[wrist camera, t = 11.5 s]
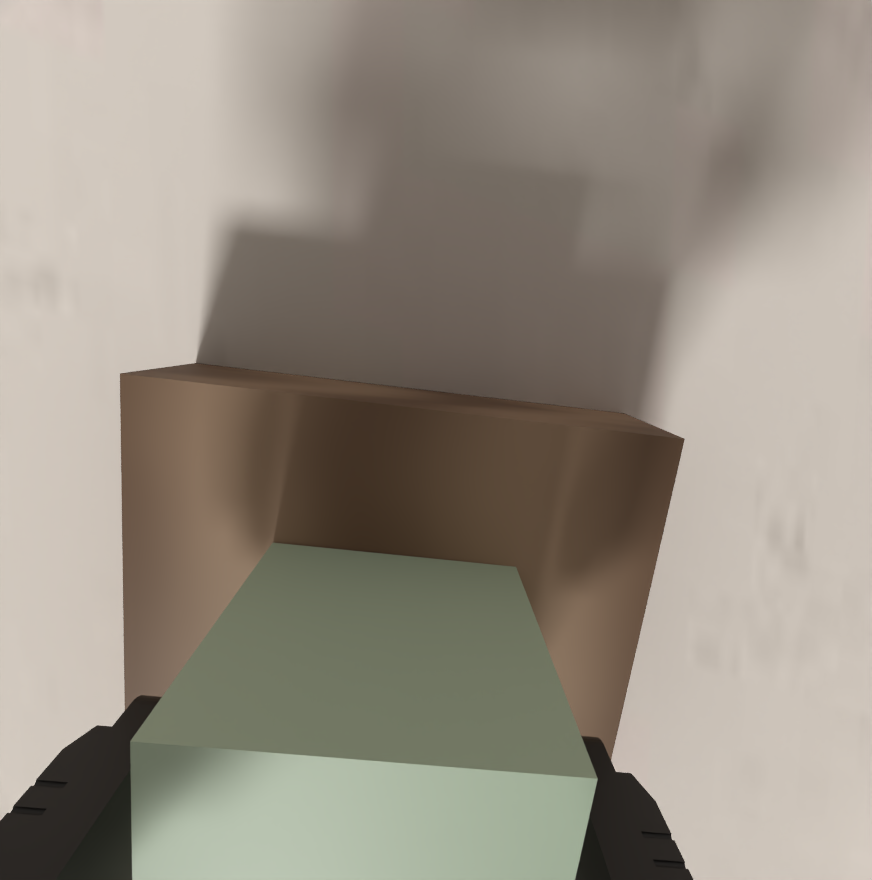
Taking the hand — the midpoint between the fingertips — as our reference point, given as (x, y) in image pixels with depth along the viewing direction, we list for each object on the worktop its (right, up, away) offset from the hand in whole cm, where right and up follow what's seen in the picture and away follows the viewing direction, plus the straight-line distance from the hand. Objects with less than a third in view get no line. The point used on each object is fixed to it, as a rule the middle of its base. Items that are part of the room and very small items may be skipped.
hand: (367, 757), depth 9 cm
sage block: (0, +1, +3) cm, 3 cm away
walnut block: (0, +2, +7) cm, 7 cm away
